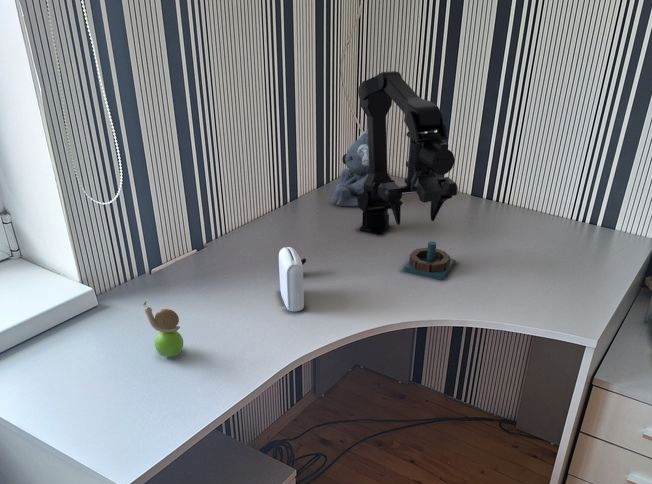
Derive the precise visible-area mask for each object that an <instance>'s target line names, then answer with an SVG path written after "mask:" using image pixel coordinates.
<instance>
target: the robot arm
mask: <svg viewBox="0 0 652 484" xmlns="http://www.w3.org/2000/svg"><path fill="white" fill-rule="evenodd" d="M357 95H358V98H359V105H360V107H361V109H362V110H363V112H364V114H365V115H366V121H367V122H366V124H367V125H366V126H367V130H368V150H369V174H368V176H367V178H366V180H365V182H364V191H363V193H362V194H361V195H360V197H359V198H358V200H357V201H358V206H357V207H358V209H360V210H361V211H362V223H361V226H360V227H359V231H361V232H366V233H370V234H375V235H380V236H381V235H382V234H384V233H385V232H386V231H387V230H388V228H390V214H389V210H391V211H392V214H393V217H394V220H395V223H396V225H398V226H400V224H401V209H402V208H401V207H402V204H403V200H402V198H403V195H413V194H417V196H418V199H419V201H420V202H422V203H424V204H426V203H428V202H430V221H432V222H434V221H435V220H436V218H437V216H438V213H439V211H440V209H441V207H442V206H443V204H444V203H445V202H446V201H447V200H450V199H452V198H453V197H454V196H458V190H459V186H458V183H456V181H454V180H452V178H450V177H449V176H444V175H446V174H448V173H450V171H451V170H452V169H453V168H454V165H455V162H456V158H455V156H454V153H453V152H452V151H451V150H450V149H449V144H448V143H447V142H444V140H446V141H447V140H448V135H447V132H448V130H447V127H446V124H445V121H444V117H443V113H442V111H441V109H440V108H439V106H438V105H437V104H435V103H434V102H432V101H431V100H429V99H428V100H427V99H424V98H422V97H420V96H419V95H418V94H417V93H416V92H415V91H414V89H412V87H411V86H410V85H409V84H408V83H407V81H405V80H404V79H403V78H402V74H401V73H400V72H399V71H397V70H392V71H381V72H379V73H378V74H377V75H375V76H373V77H370V78H368V79H365V80H363V81H362V82H361V84H359V86H358V89H357ZM393 102H394V104H396V106H397V107H398V108H399V109H400V110H401V112H402V113H403V115H404V118H403V122H404V125H405V126H406V127H407V129H408V131H407V132H406V134H405V135H406V137H407V138H409V142H408V143H409V144H408V145H409V147H408V160H406V161H405V166H406V167H407V172H406V177H405V178H404V184H406V185H401V186H399V185H398V184H397V183H396V181H395V180H394V179H392V177H391V176H390V174H389V173H388V143H387V142H388V141H387V138H388V137H387V136H388V135H387V115H388V113H389V111H390V110H391V107H392V105H393ZM436 175H439V176H443V177H436Z"/></svg>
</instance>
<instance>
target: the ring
mask: <svg viewBox="0 0 652 484" xmlns="http://www.w3.org/2000/svg"><path fill="white" fill-rule="evenodd" d="M427 251H428V247H422V248H416V249H413V251H412V252H411V253H410V254H409V260H408V263H410V264H411V265H412V266H413V267H414V269H416V268H417V270H421V271H425V272H430V271H431V272H439V271H444V270H446V269H447V267H448V266H449V265H450V258H451V256H450V255H449V253H447V252H446V251H445V250H443V249H439V248H436V252H435V259H439V260H440V261H437V262H427V261H422V260H420V259H419V258H426V257H427Z"/></svg>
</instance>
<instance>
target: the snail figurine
mask: <svg viewBox="0 0 652 484" xmlns="http://www.w3.org/2000/svg"><path fill="white" fill-rule="evenodd" d="M142 306H144V309H143V310H144V313H145V314H146V317H147V320H148V322H149V324H150V326H151V327H152V329H154V330H155V331H157V332H159V333H157V335H156V336H155V338H154V347H155V350H156V351H157V353H158V354H159V355H161V356H163V357H167V358H172V357H175V356H177V355H179V354H180V353H181V351H183V348H184V339H183V337H182V335H181V333H180V332H178V331H179V329H181V326H179V323H180V317H179V315H178V313H176V312H175V310H172V309H171V308H162V309H160V310H158V311H157V312H156V313H155V315H153V309H152V307H150V306H147V301H146V300H144V301H143V304H142Z"/></svg>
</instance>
